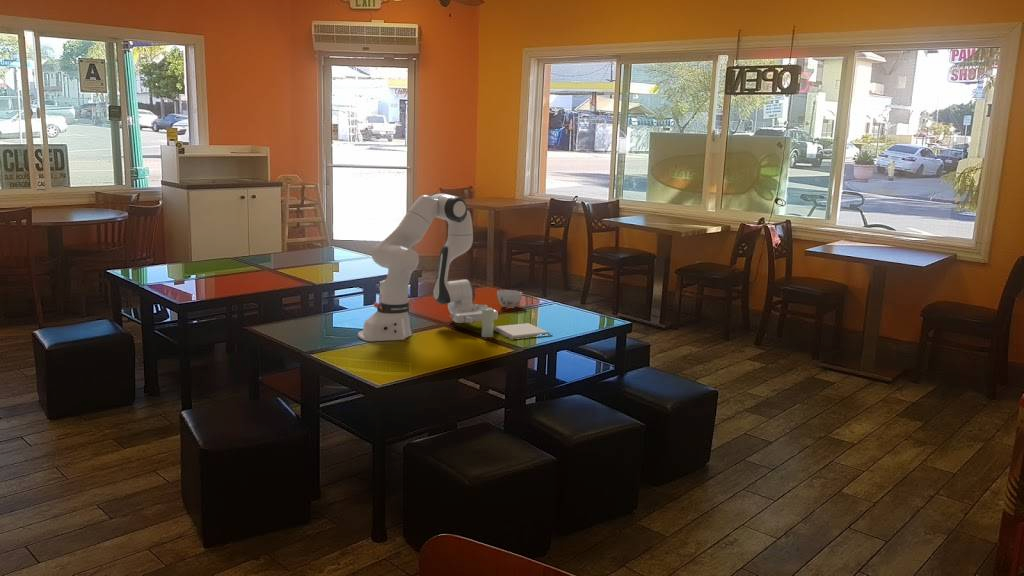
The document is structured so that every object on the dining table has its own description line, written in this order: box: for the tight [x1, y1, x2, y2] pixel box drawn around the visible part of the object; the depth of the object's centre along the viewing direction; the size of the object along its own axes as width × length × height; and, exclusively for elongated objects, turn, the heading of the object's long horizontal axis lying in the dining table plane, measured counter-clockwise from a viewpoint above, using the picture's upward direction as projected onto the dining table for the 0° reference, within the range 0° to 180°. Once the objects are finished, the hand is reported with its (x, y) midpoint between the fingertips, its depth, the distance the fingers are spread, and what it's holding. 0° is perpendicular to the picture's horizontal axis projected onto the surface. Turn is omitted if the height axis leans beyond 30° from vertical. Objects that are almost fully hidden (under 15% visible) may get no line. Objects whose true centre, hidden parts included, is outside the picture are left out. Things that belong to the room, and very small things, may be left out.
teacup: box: [496, 289, 523, 308], centre depth 395 cm, size 15×12×8 cm
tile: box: [493, 323, 552, 340], centre depth 346 cm, size 20×20×2 cm
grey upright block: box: [480, 307, 495, 338], centre depth 336 cm, size 5×5×12 cm
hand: (483, 319), depth 340 cm, fingers open, 8 cm apart
